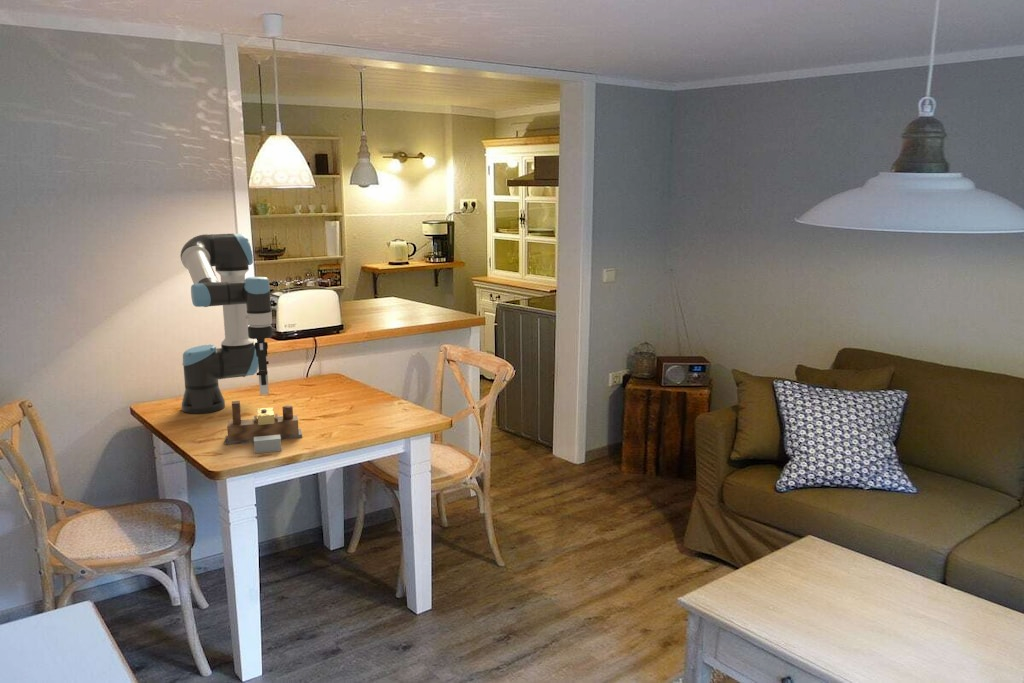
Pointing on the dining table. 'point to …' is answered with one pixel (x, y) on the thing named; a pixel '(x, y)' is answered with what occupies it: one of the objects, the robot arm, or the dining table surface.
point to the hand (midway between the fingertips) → (264, 389)
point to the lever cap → (265, 416)
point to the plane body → (261, 426)
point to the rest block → (267, 443)
